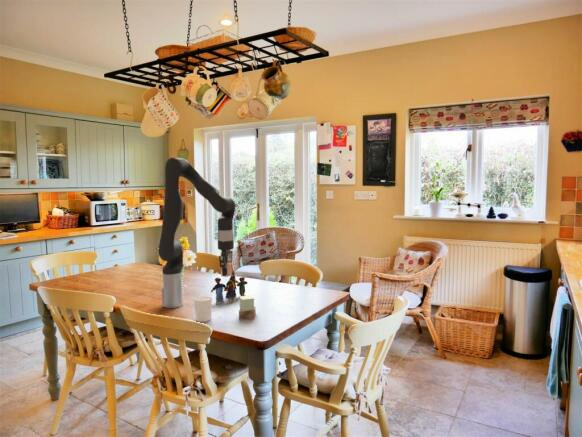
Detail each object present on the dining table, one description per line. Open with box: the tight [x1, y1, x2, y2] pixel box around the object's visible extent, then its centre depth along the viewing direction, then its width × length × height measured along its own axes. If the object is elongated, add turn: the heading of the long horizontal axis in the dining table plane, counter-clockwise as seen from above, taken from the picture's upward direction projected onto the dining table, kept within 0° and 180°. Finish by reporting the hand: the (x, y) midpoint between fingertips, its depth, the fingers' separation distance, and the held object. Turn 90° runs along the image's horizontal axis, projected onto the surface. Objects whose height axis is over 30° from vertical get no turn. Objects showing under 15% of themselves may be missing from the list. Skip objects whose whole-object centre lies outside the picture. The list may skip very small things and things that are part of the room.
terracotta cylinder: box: [220, 262, 233, 278], centre depth 199 cm, size 5×5×6 cm
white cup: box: [193, 295, 213, 323], centre depth 192 cm, size 8×8×10 cm
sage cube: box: [238, 294, 255, 311], centre depth 194 cm, size 6×6×6 cm
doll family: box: [210, 275, 248, 305], centre depth 221 cm, size 23×9×13 cm, turn 152°
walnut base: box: [238, 306, 256, 320], centre depth 195 cm, size 7×7×4 cm
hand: (226, 274), depth 200 cm, fingers closed on terracotta cylinder, 4 cm apart
